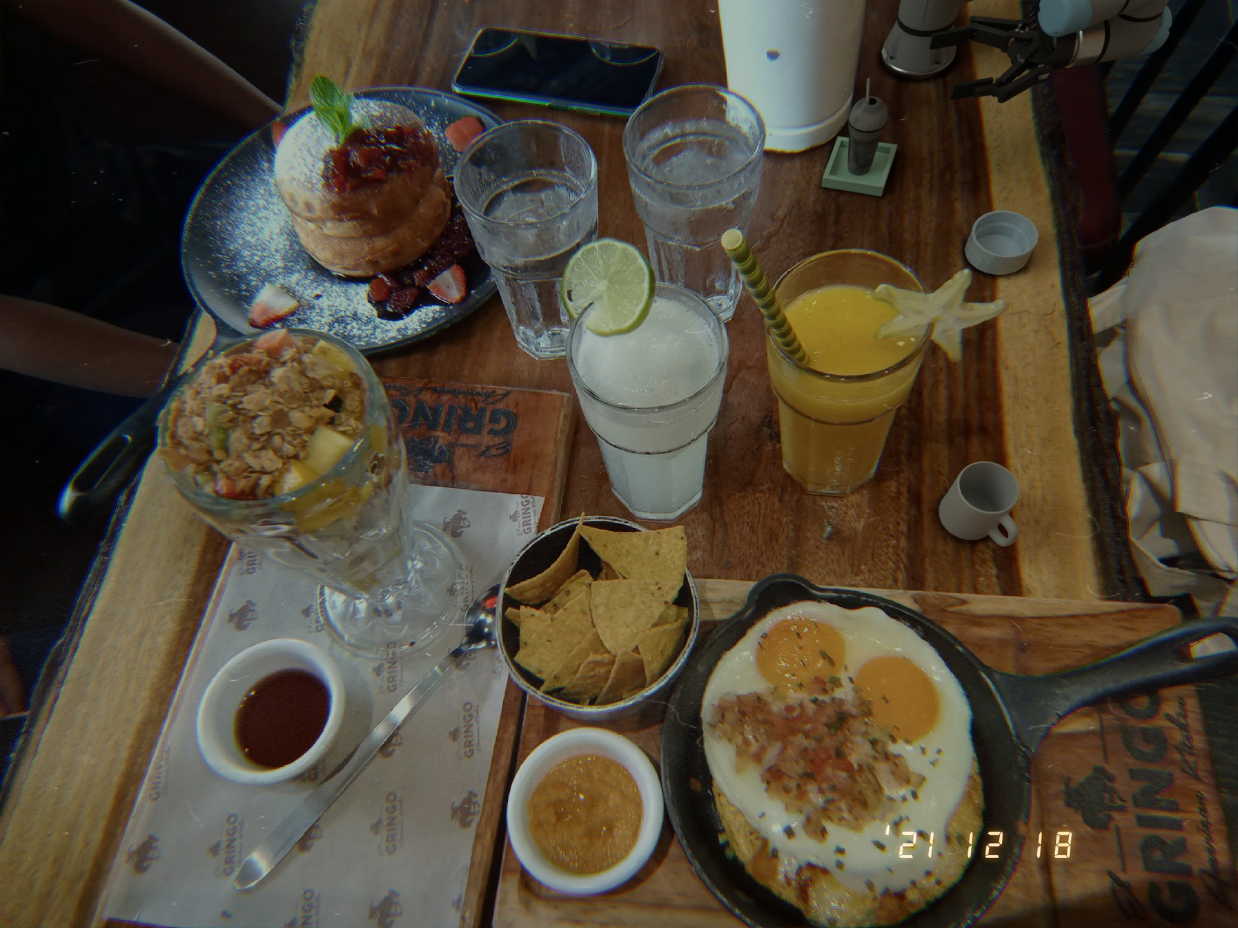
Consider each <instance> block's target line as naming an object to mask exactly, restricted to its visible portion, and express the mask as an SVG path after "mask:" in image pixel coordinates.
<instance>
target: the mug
mask: <svg viewBox="0 0 1238 928" xmlns="http://www.w3.org/2000/svg"><path fill="white" fill-rule="evenodd" d="M1019 497H1020V487H1019V483H1018V481H1017V479H1016V477H1015V476H1014V474H1013V473H1012V472H1011V471H1010V470H1009V469H1007V468H1006V467H1005V466H1003V465H1001V464H999V463H996V462H993V461H975V462H973V463H971V464H968V465H967V466H965V467H964V468H963V469H962V470H961V471H960V472H959V473H958V476H957V477H956V478H955V480H954V482H953V483H952V485H950V487H949V489H948V491H947V492H946V493H945V495H944V496H943V497H942V500H941V501H940V504H939V506H938V516H939V517H938V518H939V520H940V522H941V524H942V526H943V527H944V529H946V531H947V532H948V533H950V534H951V535H952V536H954V537H956V538H958V539H962V540H966V541H977V540H981V539H984V538H985V537H988V536H989V537H990V538H991V539H992V540H993V542H994V543H996V545H998V546H999V547H1009V546H1011V545H1013V544H1014V543H1016V541H1017V540H1018V538H1019V537H1020V536H1019V535H1020V530H1019V527H1018V524H1017V523H1016V522H1015V520H1014V519H1013V518H1012V517H1011V516H1010V512H1011V511H1012V509H1013V508H1014V507H1015V506H1016V504H1017V502H1018V500H1019ZM1000 524H1001V525H1002V526H1003V527H1004V529H1005V530H1006V531H1007V534H1008V536H1007V537H1005V536H1004V534H1003V533H1002V532H1001V531H1000V530H999V528H998V526H999V525H1000Z"/></svg>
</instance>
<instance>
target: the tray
mask: <svg viewBox="0 0 1238 928" xmlns="http://www.w3.org/2000/svg"><path fill="white" fill-rule="evenodd" d="M848 144H849V137H845V136H837V138H836V140H835V143H834V146H833V149H832V152H831V154H830V157H829V160H828V162H827V165H826V167H825V169H824V172H823V175H822V180H821V187H822V188H826V189H827V188H828V189H834V190H840V191H846V192H851V193H859V194H864V195H865V194H866V195H870V196H877V197H882V196H883V193H884V190H885V187H886V184H887V182H888V178H889V175H890V171H891V168H892V165H893V162H894V160H895V157H896V154H897V153H896V152H897V149H898V144H893V143H888V142H887V143H886V142H880V141H879V144H878V147H877V150H876V153H875V156H874V159H873V163H872V165H871V168H870V171H869V172H868V173H867V174H865V175H861V176H857V175H853V174H851V173H850V172H849V171H848V168H847V167H848V161H847V160H848Z"/></svg>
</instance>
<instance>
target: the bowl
mask: <svg viewBox="0 0 1238 928" xmlns="http://www.w3.org/2000/svg"><path fill="white" fill-rule="evenodd" d="M1039 236H1040V235H1039V230H1038V227H1037V226H1036V225H1035V223H1034V222H1033V221H1032V220H1031V219H1030V218H1028V217H1027V216H1025V215H1024V214H1022V213H1019V212H1015V211H1011V210H1005V209H1004V210H993V211H990V212H987V213H984V214H982V215H981V216H980V217H978V218H977V219H976V220H975V222H974V223H973V224H972V227H971V230H970V232H969V234H968V236H967V240H966V243H965V246H964V253H965V257H966V259H967V261H968V262H969V264H971V265H972V266H973V267H975V269H977V270H979V271H981V272H983V273H985V274H990V275H995V276H1000V275H1001V276H1003V275H1004V276H1005V275H1010V274H1013V273H1016V272H1018V271H1020V270H1021V269H1022V268H1024V267H1025V265H1026V264H1027V263H1028V261H1029V259H1030V257H1031V255H1032V254H1033V252H1034V250H1035V247H1036V246H1037V244H1038V241H1039Z"/></svg>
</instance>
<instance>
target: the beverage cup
mask: <svg viewBox="0 0 1238 928" xmlns="http://www.w3.org/2000/svg"><path fill="white" fill-rule="evenodd" d="M870 85H871V78H870V77H868V78H867V79H866V93H865V94H866V95H865V97H863V98H861V99H859V100H858V101H857V102H856V103H855V104H854V105H853V107H852V108H851V110H850V113H849V114H848V117H847V122H848V138H849V144H848V160H847V161H848V167H847V168H848V171H849V172H850V173H851V174H853V175H857V176H861V175H865V174H867V173H868V172H869V171H870V168H871V165H872V163H873V159H874V156H875V153H876V150H877V147H878V144H879V142H880V140H881V137H882V134H883V133H884V130H885V129H886V126H887V125H888V121H889V117H888V116H889V114H888V113H889V112H888V108H887V105H886V103H885V102H884V101H883V100H882V99H881V98H880V97H877V96H873V95H870V90H871V89H870V88H871V87H870Z"/></svg>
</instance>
